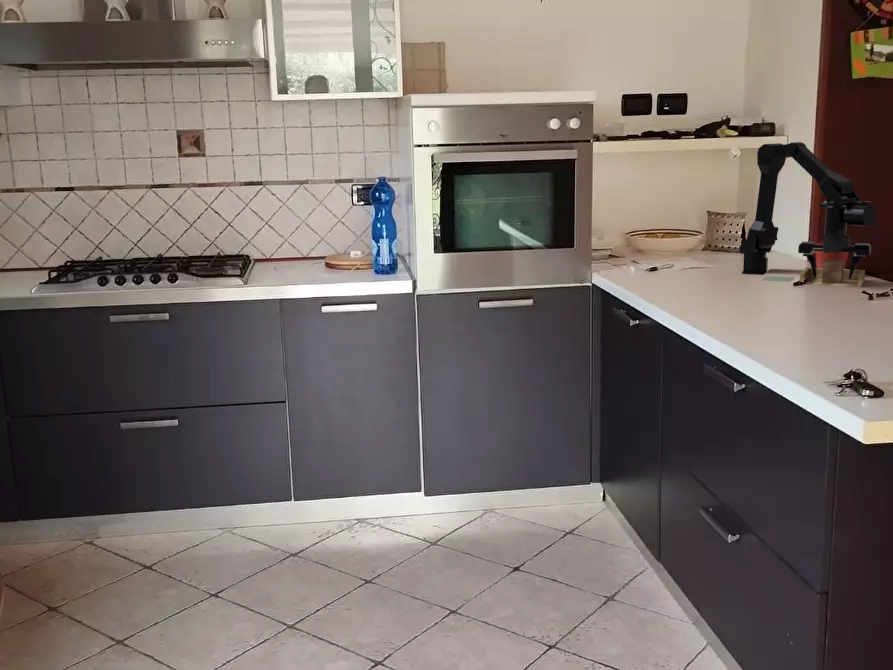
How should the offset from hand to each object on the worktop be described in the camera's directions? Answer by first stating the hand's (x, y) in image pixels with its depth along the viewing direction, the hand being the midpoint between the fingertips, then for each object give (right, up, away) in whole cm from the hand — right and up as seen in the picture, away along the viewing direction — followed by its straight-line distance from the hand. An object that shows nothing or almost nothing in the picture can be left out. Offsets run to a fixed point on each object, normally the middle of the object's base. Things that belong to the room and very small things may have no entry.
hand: (832, 278), depth 260 cm
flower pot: (+5, +1, +13) cm, 14 cm away
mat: (-13, 0, +8) cm, 15 cm away
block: (0, -1, 0) cm, 1 cm away
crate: (0, -2, 0) cm, 2 cm away
